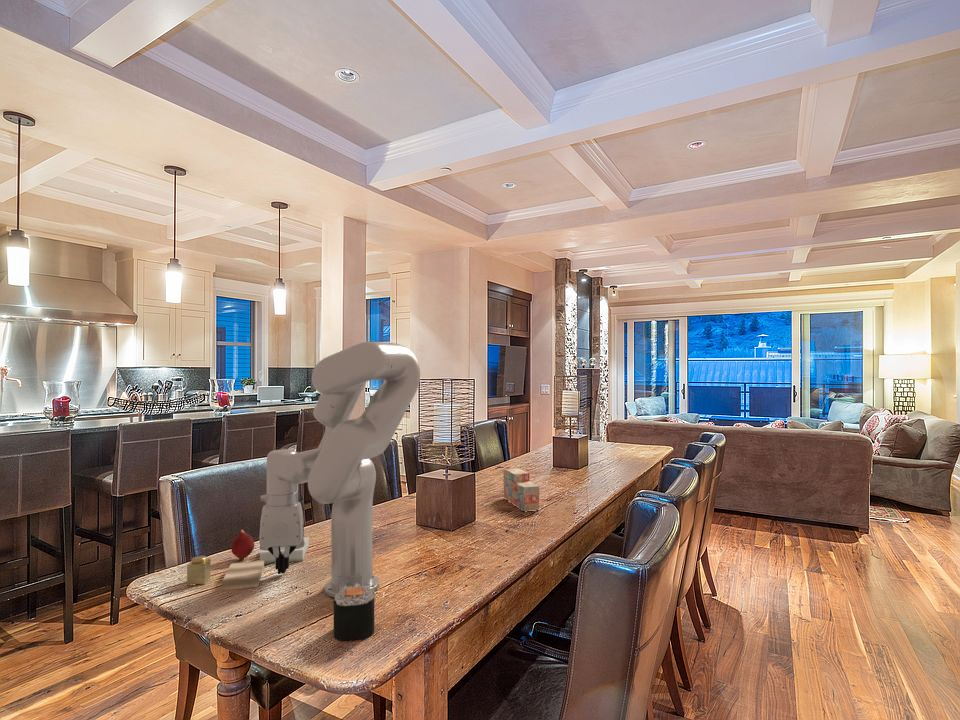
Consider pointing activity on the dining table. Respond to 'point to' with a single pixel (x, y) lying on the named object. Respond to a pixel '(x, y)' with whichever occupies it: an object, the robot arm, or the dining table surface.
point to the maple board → (243, 575)
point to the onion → (242, 545)
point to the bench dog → (198, 570)
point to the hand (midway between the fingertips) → (282, 571)
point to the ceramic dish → (294, 556)
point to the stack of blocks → (520, 489)
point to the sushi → (354, 613)
